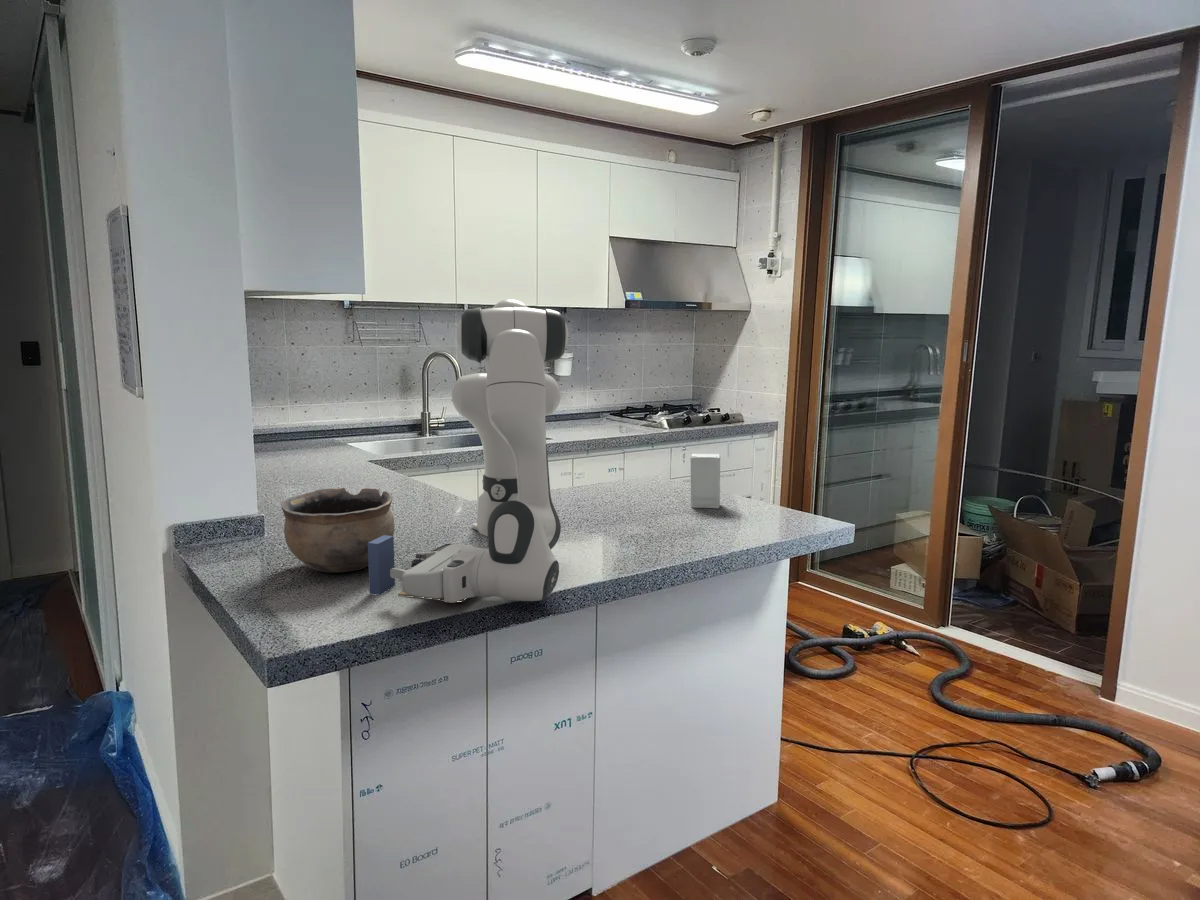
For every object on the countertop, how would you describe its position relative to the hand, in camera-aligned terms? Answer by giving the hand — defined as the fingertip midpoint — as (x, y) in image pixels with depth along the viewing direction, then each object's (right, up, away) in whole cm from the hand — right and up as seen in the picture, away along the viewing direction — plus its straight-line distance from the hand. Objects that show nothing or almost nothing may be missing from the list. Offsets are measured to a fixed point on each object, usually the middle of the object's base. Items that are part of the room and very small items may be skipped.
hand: (405, 564), depth 145 cm
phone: (+3, -2, +23) cm, 23 cm away
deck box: (-5, -5, +2) cm, 7 cm away
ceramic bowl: (-17, -3, +15) cm, 23 cm away
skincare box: (+67, +6, +72) cm, 98 cm away
